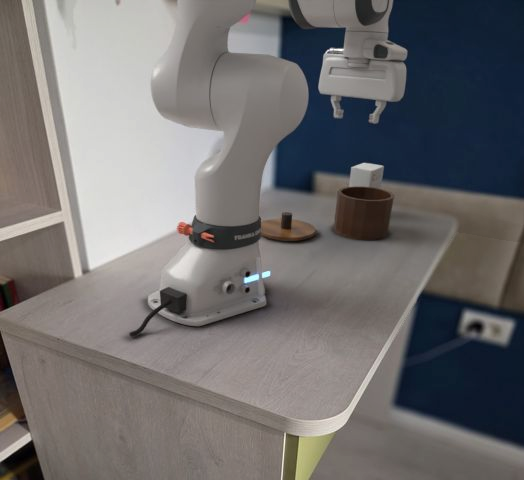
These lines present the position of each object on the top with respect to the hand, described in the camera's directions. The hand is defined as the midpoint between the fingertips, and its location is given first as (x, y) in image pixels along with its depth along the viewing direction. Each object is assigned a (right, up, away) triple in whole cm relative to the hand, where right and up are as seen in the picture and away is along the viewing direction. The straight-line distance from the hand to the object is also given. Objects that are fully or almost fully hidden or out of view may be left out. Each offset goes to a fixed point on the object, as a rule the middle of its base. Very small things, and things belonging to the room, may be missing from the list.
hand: (355, 120), depth 112 cm
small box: (+7, -13, +29) cm, 32 cm away
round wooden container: (+4, -21, +16) cm, 27 cm away
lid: (-15, -22, +12) cm, 29 cm away
